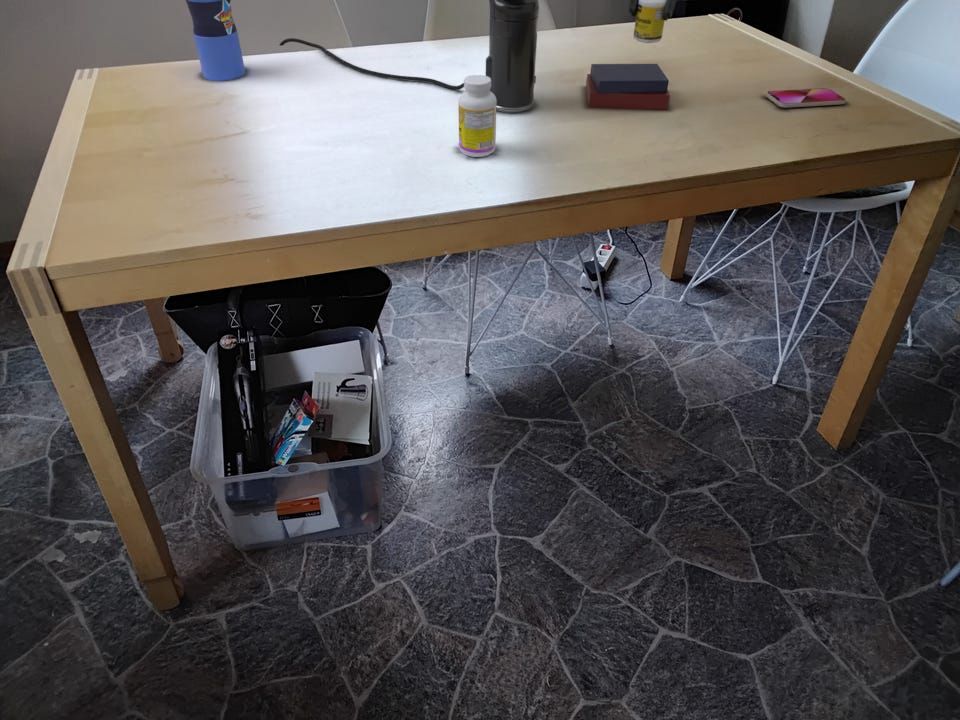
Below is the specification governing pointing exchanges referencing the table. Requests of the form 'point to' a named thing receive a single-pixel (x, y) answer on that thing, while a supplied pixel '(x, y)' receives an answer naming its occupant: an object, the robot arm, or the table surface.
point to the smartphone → (805, 97)
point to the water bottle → (216, 39)
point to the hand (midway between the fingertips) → (649, 15)
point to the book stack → (627, 86)
